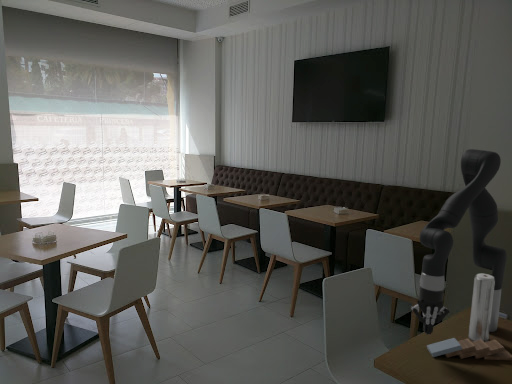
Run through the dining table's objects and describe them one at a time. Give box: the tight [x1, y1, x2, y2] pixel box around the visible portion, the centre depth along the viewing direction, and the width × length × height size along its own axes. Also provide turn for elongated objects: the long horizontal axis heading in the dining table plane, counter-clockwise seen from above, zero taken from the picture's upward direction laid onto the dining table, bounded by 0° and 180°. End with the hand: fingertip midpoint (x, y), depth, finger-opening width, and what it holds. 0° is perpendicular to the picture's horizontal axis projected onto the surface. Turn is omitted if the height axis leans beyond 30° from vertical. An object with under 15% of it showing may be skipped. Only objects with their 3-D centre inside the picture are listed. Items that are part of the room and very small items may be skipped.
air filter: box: [468, 273, 495, 342], centre depth 146 cm, size 6×6×25 cm
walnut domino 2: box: [457, 339, 490, 360], centre depth 136 cm, size 2×5×10 cm
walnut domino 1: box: [443, 337, 476, 359], centre depth 137 cm, size 2×5×10 cm
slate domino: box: [426, 337, 462, 358], centre depth 137 cm, size 2×5×10 cm
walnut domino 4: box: [482, 349, 512, 361], centre depth 137 cm, size 2×5×10 cm
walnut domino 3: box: [473, 339, 506, 359], centre depth 137 cm, size 2×5×10 cm
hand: (427, 333), depth 136 cm, fingers closed
